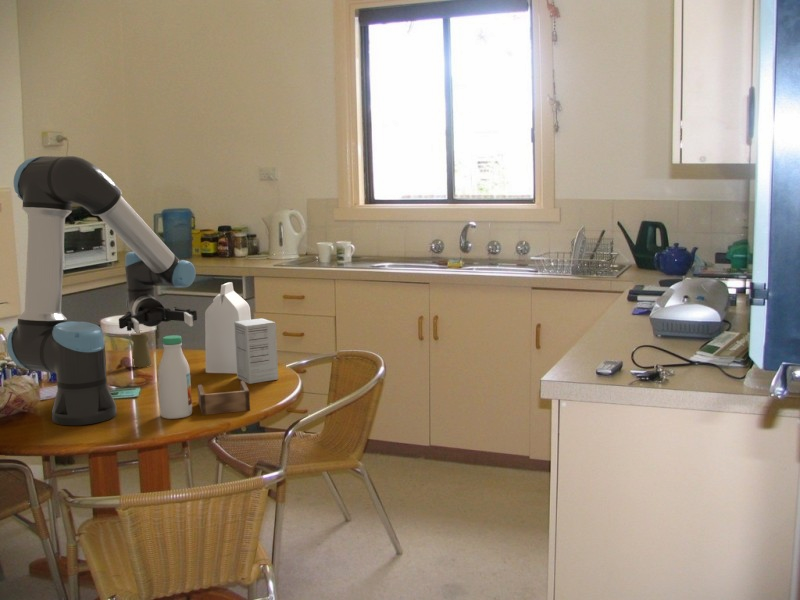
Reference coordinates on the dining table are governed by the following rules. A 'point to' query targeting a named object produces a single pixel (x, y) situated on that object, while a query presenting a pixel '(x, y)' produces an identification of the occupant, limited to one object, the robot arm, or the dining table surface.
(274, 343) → the supplement box
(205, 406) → the walnut U-rest
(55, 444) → the dining table surface
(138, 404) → the dining table surface
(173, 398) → the milk bottle
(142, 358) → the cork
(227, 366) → the milk
